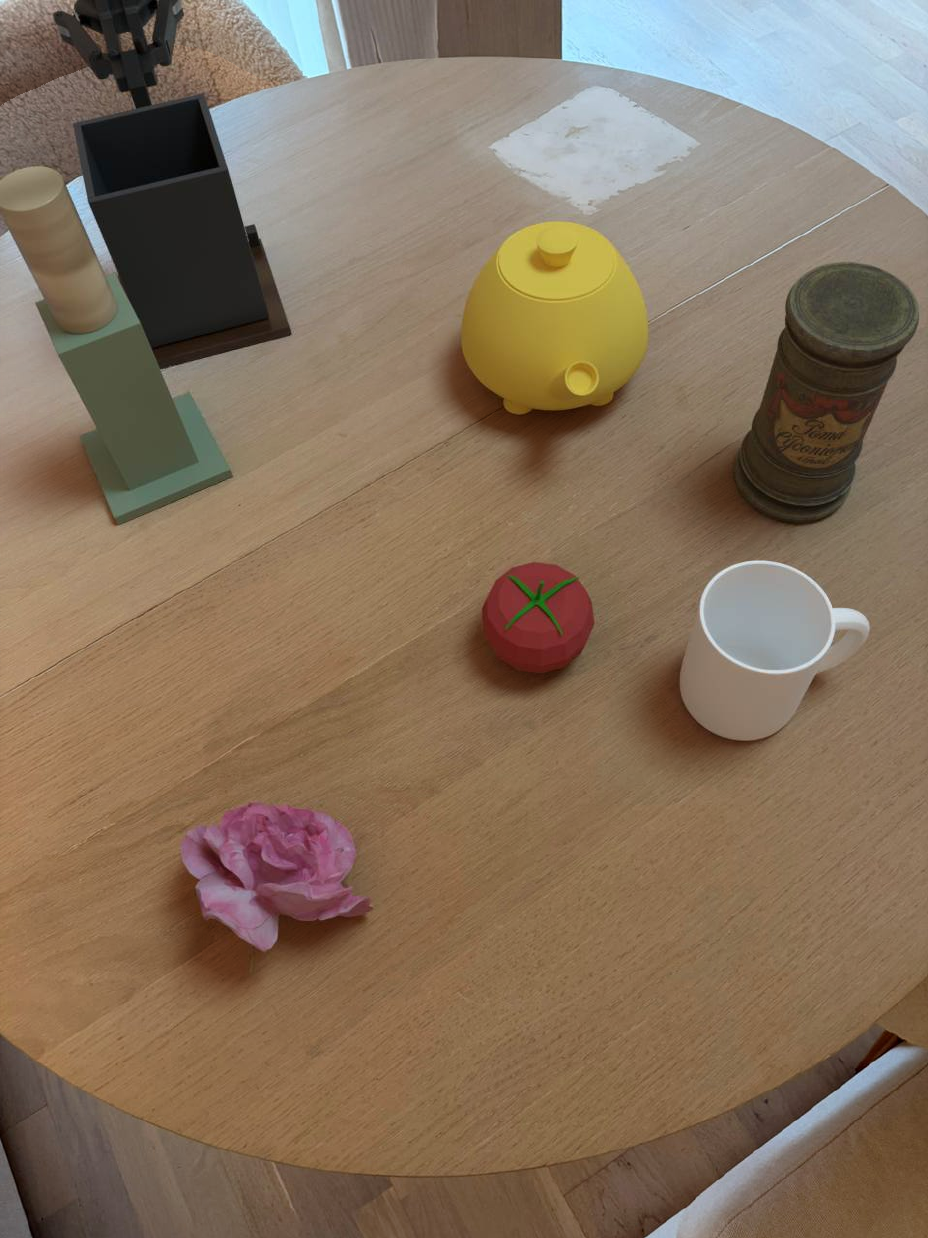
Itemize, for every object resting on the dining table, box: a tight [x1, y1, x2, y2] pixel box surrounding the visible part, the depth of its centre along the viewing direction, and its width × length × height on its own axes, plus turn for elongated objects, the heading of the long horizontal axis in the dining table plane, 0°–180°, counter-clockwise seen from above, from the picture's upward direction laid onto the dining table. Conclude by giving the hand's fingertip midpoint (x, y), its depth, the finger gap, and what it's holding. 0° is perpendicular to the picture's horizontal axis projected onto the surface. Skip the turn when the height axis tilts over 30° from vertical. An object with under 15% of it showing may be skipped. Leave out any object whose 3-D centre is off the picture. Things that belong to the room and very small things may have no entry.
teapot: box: [460, 220, 649, 415], centre depth 81 cm, size 20×16×14 cm
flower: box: [180, 801, 374, 974], centre depth 62 cm, size 11×10×10 cm
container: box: [733, 261, 920, 524], centre depth 73 cm, size 9×9×18 cm
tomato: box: [481, 561, 595, 674], centre depth 71 cm, size 8×8×8 cm
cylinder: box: [0, 165, 118, 334], centre depth 67 cm, size 4×4×10 cm
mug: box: [679, 559, 871, 742], centre depth 67 cm, size 12×8×10 cm
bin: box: [72, 93, 269, 348], centre depth 87 cm, size 11×11×15 cm
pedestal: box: [34, 273, 234, 525], centre depth 78 cm, size 10×10×16 cm
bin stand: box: [114, 223, 293, 370], centre depth 94 cm, size 13×14×3 cm
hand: (141, 100), depth 95 cm, fingers closed
